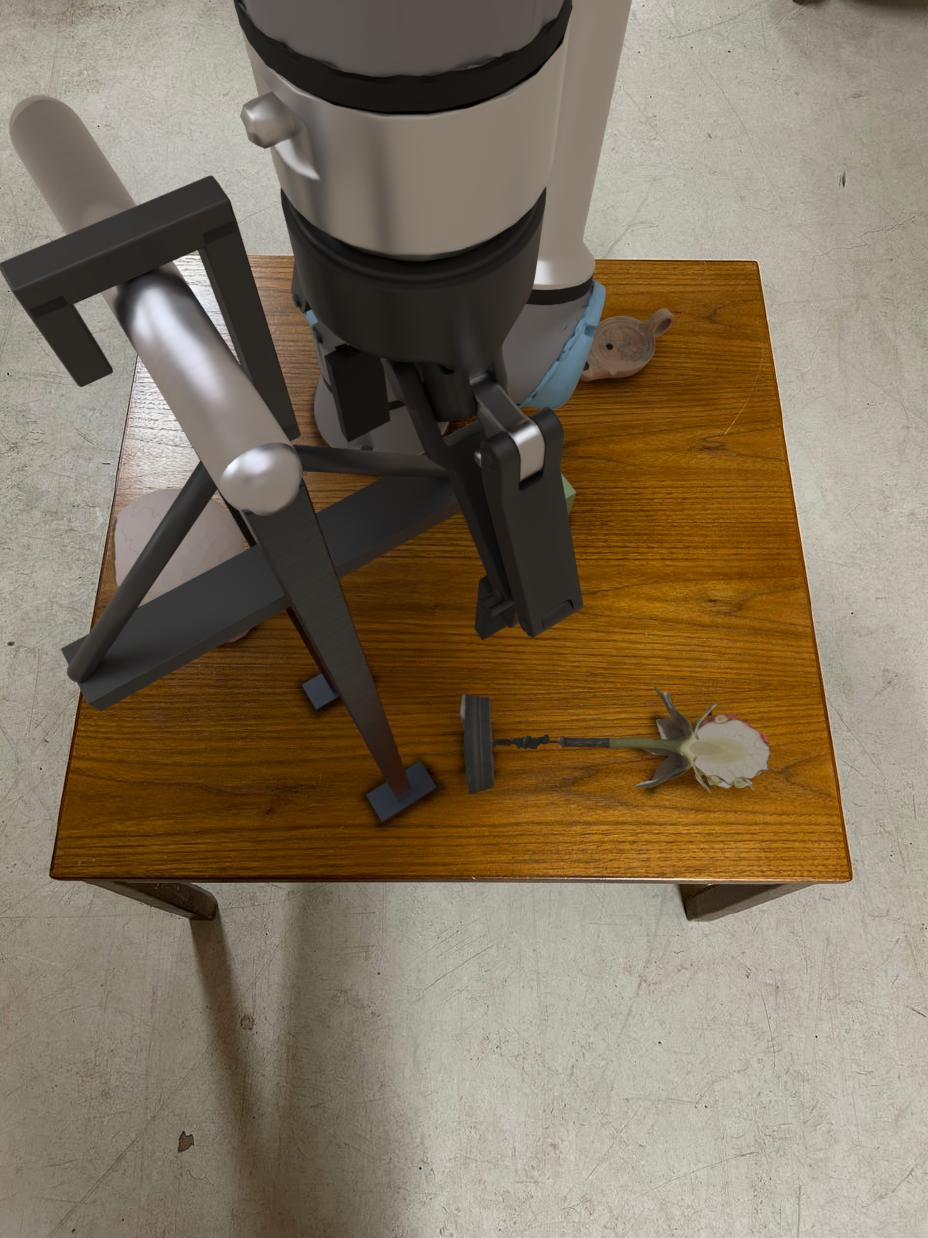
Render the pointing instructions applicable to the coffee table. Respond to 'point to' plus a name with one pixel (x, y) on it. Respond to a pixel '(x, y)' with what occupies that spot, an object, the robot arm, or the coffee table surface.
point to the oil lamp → (624, 345)
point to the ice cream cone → (195, 555)
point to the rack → (223, 434)
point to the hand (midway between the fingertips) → (430, 520)
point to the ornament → (636, 746)
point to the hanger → (243, 585)
